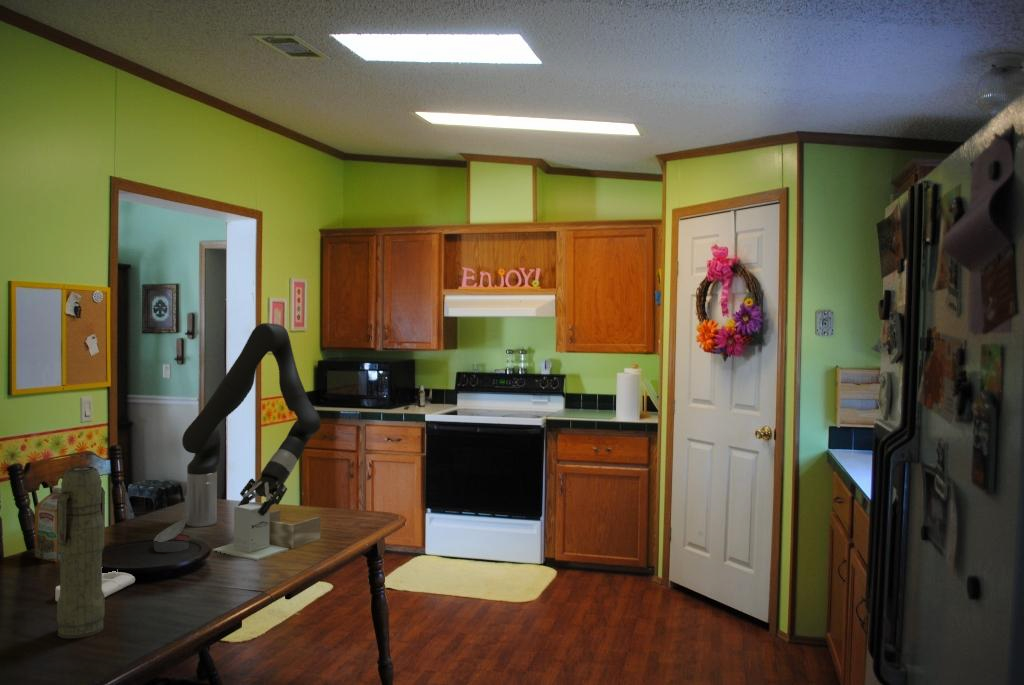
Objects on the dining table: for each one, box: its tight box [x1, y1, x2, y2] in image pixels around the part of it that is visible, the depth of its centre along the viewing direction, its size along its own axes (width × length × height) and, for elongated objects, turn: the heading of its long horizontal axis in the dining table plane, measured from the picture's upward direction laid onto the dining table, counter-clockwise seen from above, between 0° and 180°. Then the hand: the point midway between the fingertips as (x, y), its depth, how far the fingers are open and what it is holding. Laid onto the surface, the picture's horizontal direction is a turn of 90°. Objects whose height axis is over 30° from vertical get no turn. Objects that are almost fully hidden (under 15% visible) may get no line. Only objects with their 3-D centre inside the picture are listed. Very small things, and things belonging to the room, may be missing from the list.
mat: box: [212, 542, 289, 561], centre depth 226 cm, size 18×12×1 cm, turn 62°
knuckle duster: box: [54, 571, 136, 603], centre depth 190 cm, size 3×18×15 cm
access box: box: [269, 509, 321, 550], centre depth 237 cm, size 18×12×7 cm, turn 62°
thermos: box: [56, 465, 106, 640], centre depth 164 cm, size 9×12×35 cm
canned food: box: [153, 518, 191, 542], centre depth 227 cm, size 11×10×10 cm
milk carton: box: [34, 486, 61, 563], centre depth 219 cm, size 11×11×19 cm
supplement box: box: [233, 502, 271, 553], centre depth 226 cm, size 7×7×13 cm
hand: (250, 512), depth 225 cm, fingers open, 8 cm apart
